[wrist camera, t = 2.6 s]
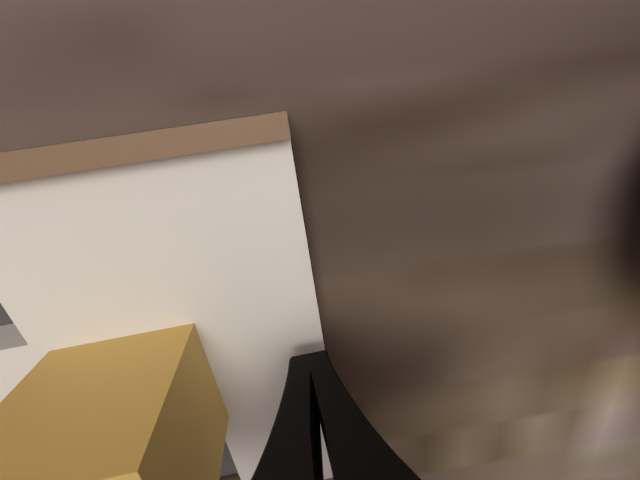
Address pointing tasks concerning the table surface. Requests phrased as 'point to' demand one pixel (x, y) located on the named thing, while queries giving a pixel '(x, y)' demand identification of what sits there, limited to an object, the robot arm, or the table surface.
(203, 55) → the table surface
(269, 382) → the trap tray
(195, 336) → the block
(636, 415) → the table surface
